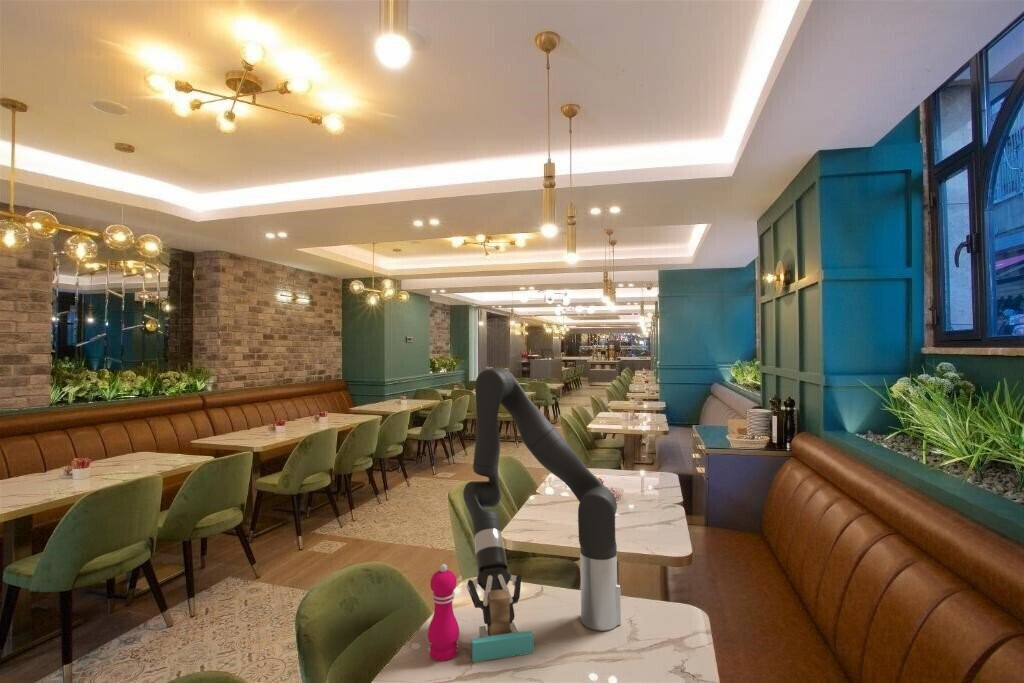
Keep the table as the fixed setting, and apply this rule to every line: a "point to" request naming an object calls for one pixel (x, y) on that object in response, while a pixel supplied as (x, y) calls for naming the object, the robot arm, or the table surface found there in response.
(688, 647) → the table surface
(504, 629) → the peg
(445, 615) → the pepper mill
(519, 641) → the wall
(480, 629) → the frame
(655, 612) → the table surface
